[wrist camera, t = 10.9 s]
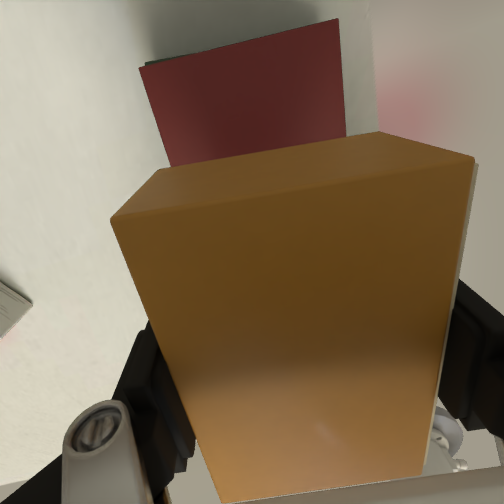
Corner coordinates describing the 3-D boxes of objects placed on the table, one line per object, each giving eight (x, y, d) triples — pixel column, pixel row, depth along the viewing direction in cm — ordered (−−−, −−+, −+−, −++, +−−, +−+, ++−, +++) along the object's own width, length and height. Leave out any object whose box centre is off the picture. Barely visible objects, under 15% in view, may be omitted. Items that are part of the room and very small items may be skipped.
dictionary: (156, 168, 9) (106, 218, 5) (387, 129, 9) (490, 153, 5) (224, 397, 14) (221, 505, 10) (377, 374, 13) (429, 475, 10)
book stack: (333, 245, 32) (355, 279, 26) (207, 265, 32) (201, 303, 26) (325, 33, 24) (354, 14, 18) (155, 64, 24) (130, 55, 18)
